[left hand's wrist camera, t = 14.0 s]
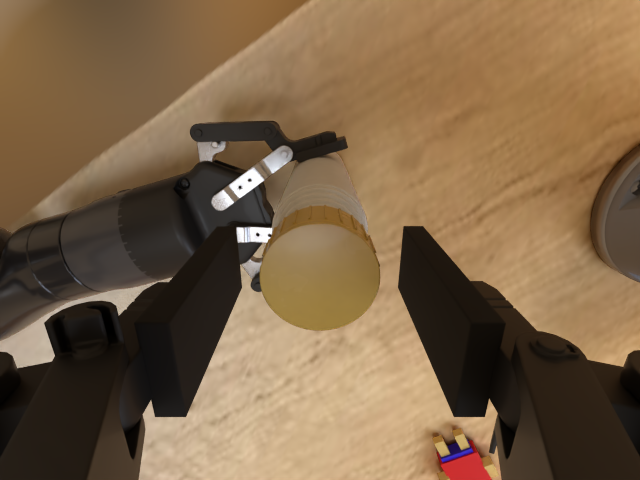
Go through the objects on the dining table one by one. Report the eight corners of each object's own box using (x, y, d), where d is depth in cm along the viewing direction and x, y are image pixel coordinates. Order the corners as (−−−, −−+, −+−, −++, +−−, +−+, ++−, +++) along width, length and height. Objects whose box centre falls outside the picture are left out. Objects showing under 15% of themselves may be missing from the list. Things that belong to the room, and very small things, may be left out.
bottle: (354, 162, 32) (409, 248, 12) (330, 206, 33) (344, 345, 14) (308, 137, 31) (290, 187, 12) (285, 183, 32) (235, 297, 13)
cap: (277, 193, 13) (269, 208, 11) (386, 217, 14) (397, 236, 12) (258, 290, 15) (249, 319, 13) (356, 310, 15) (362, 341, 13)
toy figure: (424, 453, 42) (460, 517, 45) (478, 434, 41) (511, 500, 44) (419, 436, 45) (453, 497, 48) (470, 417, 43) (502, 481, 47)
